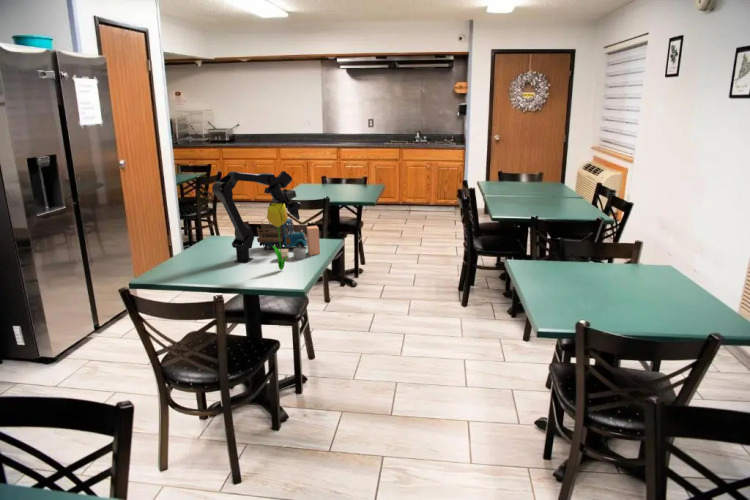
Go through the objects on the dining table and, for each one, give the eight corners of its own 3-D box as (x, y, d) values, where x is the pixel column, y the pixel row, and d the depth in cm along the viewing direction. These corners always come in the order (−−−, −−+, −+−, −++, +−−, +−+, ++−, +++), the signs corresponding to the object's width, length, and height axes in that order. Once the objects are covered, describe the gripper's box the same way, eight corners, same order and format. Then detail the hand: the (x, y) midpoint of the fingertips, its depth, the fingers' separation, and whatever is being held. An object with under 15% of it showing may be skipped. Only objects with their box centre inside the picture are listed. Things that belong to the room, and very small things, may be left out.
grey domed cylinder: (303, 260, 248) (302, 250, 247) (292, 259, 249) (291, 250, 248) (307, 256, 253) (306, 247, 252) (296, 256, 255) (295, 247, 253)
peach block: (309, 255, 256) (308, 228, 252) (308, 252, 260) (306, 226, 257) (320, 254, 257) (318, 227, 254) (318, 251, 262) (316, 225, 258)
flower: (293, 268, 236) (288, 201, 228) (288, 273, 228) (284, 205, 220) (274, 267, 237) (269, 201, 229) (269, 273, 229) (263, 205, 221)
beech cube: (287, 260, 248) (287, 251, 247) (278, 261, 248) (277, 251, 247) (288, 258, 252) (288, 248, 251) (279, 258, 252) (278, 249, 251)
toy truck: (307, 250, 264) (305, 221, 260) (257, 251, 265) (254, 222, 261) (310, 245, 274) (308, 216, 270) (262, 246, 275) (260, 217, 271)
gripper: (300, 185, 256) (314, 209, 265) (276, 182, 268) (290, 205, 277) (286, 200, 251) (301, 224, 260) (261, 197, 263) (277, 219, 272)
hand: (292, 218), depth 268 cm, fingers open, 9 cm apart
